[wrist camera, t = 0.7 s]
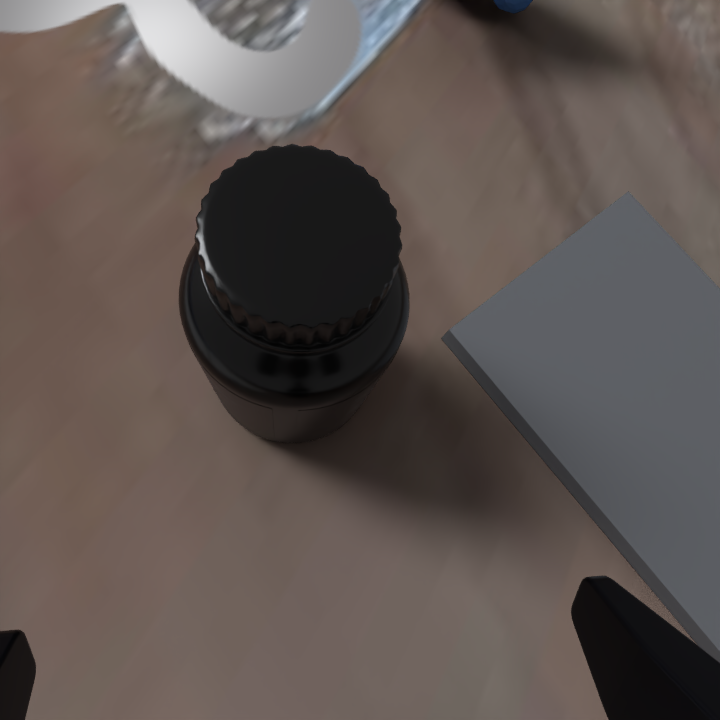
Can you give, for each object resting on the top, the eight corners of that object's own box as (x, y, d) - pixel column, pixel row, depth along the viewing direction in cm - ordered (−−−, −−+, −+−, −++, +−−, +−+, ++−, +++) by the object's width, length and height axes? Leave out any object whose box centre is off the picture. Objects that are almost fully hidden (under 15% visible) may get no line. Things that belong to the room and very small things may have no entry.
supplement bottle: (327, 275, 25) (372, 75, 14) (393, 405, 24) (503, 303, 12) (186, 331, 23) (101, 153, 12) (250, 474, 22) (223, 429, 11)
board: (860, 469, 26) (886, 467, 25) (711, 660, 23) (734, 668, 22) (614, 204, 29) (628, 191, 28) (441, 338, 25) (449, 329, 24)
